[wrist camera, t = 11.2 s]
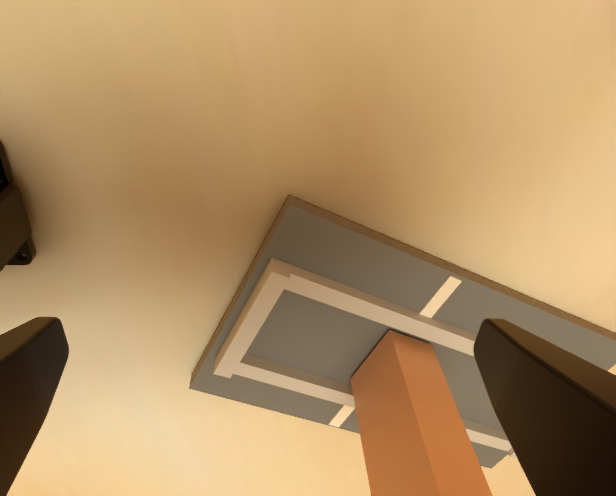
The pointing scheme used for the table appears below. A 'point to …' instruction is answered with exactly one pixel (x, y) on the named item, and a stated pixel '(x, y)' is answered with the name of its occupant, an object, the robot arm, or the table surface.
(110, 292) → the table surface
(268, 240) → the board
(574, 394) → the robot arm
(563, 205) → the table surface
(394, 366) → the fader tab
